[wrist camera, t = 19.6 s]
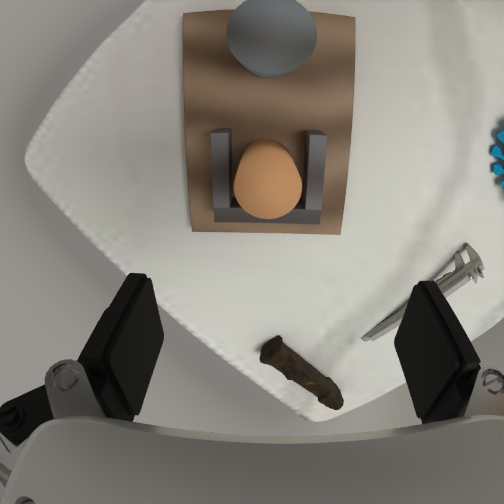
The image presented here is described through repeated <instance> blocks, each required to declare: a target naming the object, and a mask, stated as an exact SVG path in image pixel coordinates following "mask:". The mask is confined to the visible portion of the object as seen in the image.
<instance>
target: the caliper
mask: <svg viewBox="0 0 504 504" xmlns="http://www.w3.org/2000/svg"><path fill="white" fill-rule="evenodd" d="M464 246H465V248H466V250H467V252H468V255H469V257H470V260H471V261H469V262H468V263H467V264H465V263H464V261H463V258H462V257H461V255H460V254H459V252H458V251H456V253H455V266H456V269H455V270H454V271H453V272H449V273H447V274H445V275H444V276H443V277H442V278H440V279H438V280H436V284H437V285H438V287H439V289H440V290H441V292H442V293H443V295H444V297H445V298H446V297H447V296H449V295H450V294H452V293H453V292H455V291H456V290H457V289H459V288H460V287H462V286H463V285H464V284H466V283H467V282H469V281H470V280H471V279H470V277H471V276H472V279H473V280H474V282H475V283H477V274H478V275H479V276H480V277H482V278H484V277H483V274H482V272H481V271H482V270H483V269H484V266H483V263H482V261H481V258H480V256H479V255H478V254H477V252H476V251H475V250H474V249H473V248H472V247H471V246H470V245H469V244H468V243H465V244H464ZM476 273H477V274H476ZM405 310H406V307H405V308H404V309H402V310H400V311H399V312H397V313H396V314H394V315H393V316H391V317H389V318H388V319H386V320H385V321H383V322H381V323H380V324H378V325H377V326H375V327H374V328H373V329H372V330H370V331H369V332H368V334H367V335H365V336H363V337H362V338H361V339H362V340H364V341H365V342H366V341H369V340H372V341H374V340H376V339H377V338H379V337H381V336H383V335H384V334H386V333H388V332H389V331H391V330H393V329H394V328H396V327H398V326H399V325H400V323H401V321H402V318H403V315H404V313H405Z"/></svg>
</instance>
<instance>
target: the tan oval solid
mask: <svg viewBox="0 0 504 504" xmlns="http://www.w3.org/2000/svg"><path fill="white" fill-rule="evenodd" d="M301 192H302V182H301V178H300V175H299V173H298V170H297V168H296V166H295V164H294V161H293V159H292V157H291V155H290V153H289V151H288V150H287V148H286V147H285V146H284V145H283V144H281V143H280V142H278V141H276V140H273V139H260V140H257V141H254V142H252V143H251V144H250V145H248V146H247V148H246V149H245V150H244V152H243V154H242V157H241V160H240V163H239V167H238V170H237V174H236V177H235V181H234V193H235V197H236V199H237V201H238V203H239V205H240V206H241V207H242V208H243V209H244V210H245V211H246V212H247V213H249V214H250V215H252V216H255V217H258V218H262V219H274V218H278V217H281V216H283V215H285V214H287V213H289V212H290V211H291V210H292V209H293V208H294V207H295V206H296V204H297V203H298V201H299V199H300V196H301Z"/></svg>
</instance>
